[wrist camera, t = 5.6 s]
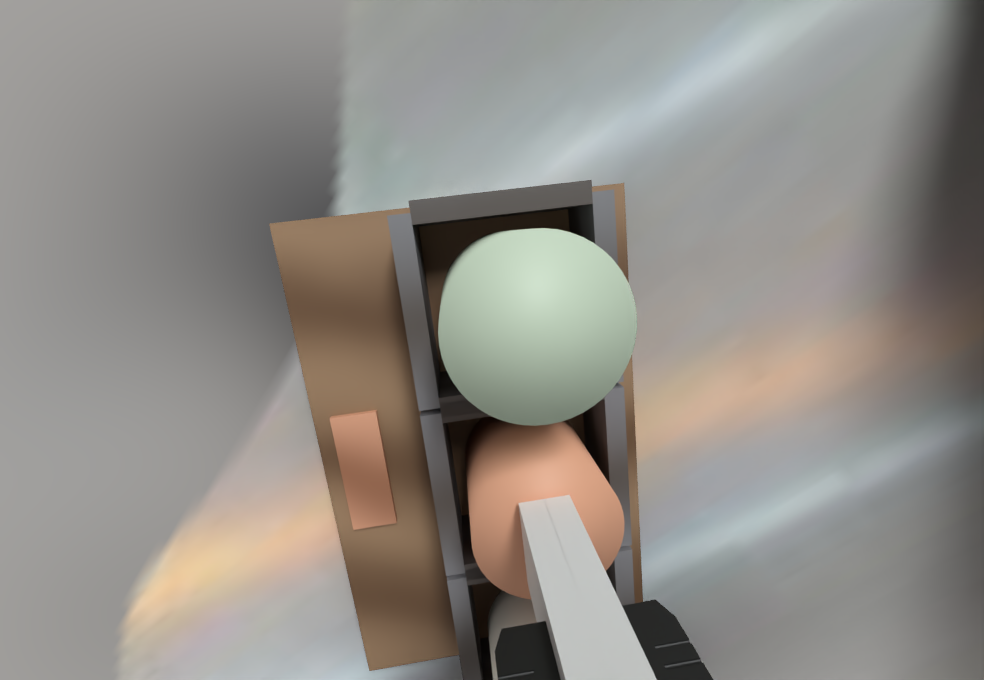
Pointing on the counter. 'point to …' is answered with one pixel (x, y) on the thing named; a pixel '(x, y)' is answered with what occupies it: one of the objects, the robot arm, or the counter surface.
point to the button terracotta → (532, 494)
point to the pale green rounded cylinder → (535, 325)
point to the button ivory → (507, 619)
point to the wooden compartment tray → (427, 408)
